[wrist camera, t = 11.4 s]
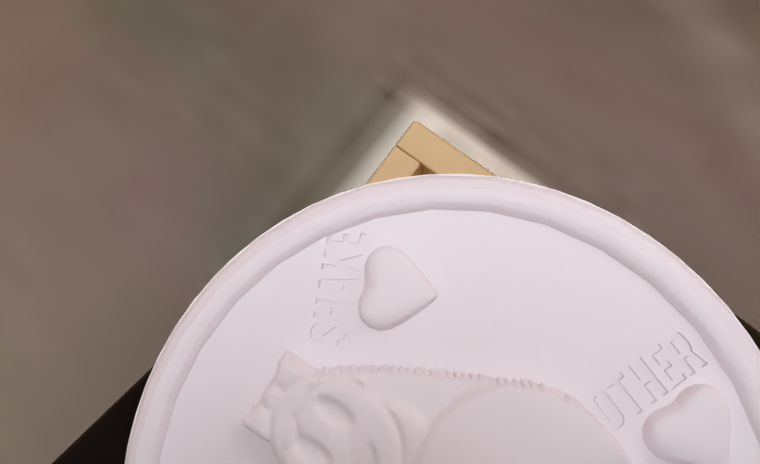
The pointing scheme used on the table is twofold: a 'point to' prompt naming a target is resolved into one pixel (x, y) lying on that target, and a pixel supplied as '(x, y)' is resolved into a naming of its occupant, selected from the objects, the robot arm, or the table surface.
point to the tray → (424, 157)
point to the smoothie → (453, 341)
